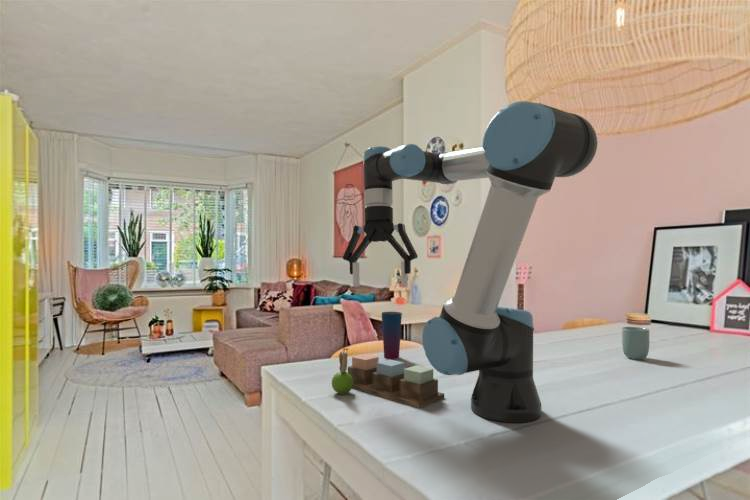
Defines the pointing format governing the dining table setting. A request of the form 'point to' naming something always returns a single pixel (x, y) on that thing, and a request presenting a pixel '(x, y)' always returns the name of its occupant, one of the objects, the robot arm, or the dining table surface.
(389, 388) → the wooden socket tray
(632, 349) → the cup
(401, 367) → the slate key
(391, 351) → the cup
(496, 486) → the dining table surface
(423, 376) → the sage key
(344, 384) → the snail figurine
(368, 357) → the terracotta key
